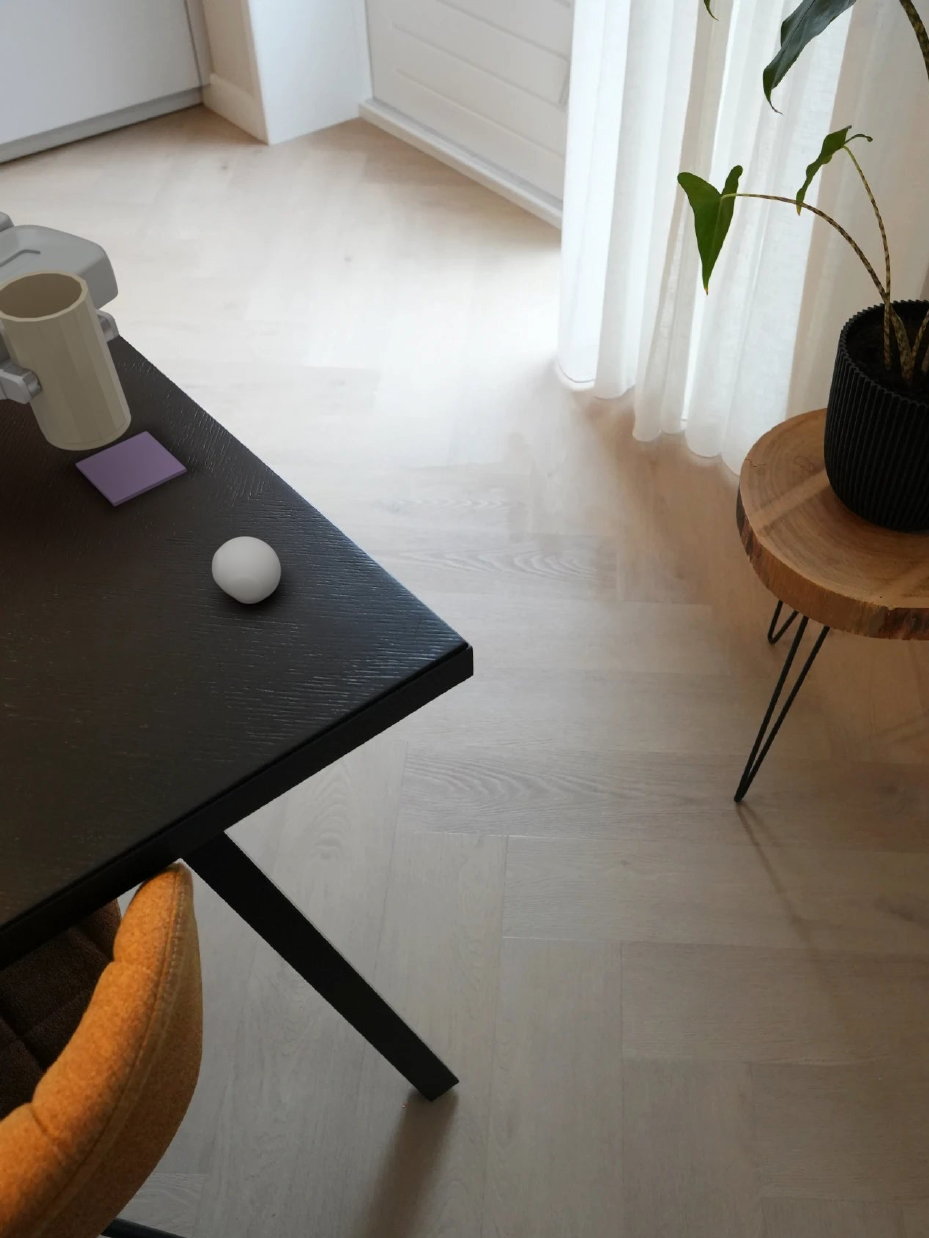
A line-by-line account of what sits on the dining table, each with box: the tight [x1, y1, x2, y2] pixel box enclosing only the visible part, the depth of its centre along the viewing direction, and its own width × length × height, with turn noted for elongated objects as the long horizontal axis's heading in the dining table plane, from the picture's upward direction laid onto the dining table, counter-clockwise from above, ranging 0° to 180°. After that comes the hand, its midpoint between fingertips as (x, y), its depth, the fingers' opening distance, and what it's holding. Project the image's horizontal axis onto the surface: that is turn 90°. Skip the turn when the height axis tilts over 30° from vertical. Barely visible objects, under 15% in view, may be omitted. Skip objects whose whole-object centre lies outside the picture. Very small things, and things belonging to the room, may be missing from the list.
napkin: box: [75, 430, 188, 507], centre depth 94 cm, size 7×7×1 cm
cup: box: [0, 270, 132, 451], centre depth 76 cm, size 6×6×10 cm
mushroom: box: [211, 536, 282, 605], centre depth 83 cm, size 5×5×5 cm
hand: (72, 358), depth 76 cm, fingers closed on cup, 6 cm apart
